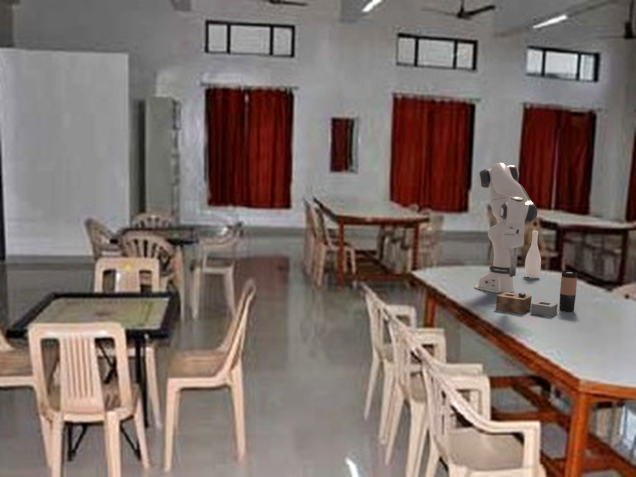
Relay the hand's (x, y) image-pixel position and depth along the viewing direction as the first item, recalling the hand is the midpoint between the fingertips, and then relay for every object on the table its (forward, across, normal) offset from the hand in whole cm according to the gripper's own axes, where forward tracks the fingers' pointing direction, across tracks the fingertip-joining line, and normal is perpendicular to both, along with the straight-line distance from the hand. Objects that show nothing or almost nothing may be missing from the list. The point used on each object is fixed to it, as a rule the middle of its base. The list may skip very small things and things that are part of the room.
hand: (513, 256), depth 359 cm
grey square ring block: (+27, -2, +17) cm, 32 cm away
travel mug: (+27, -17, +24) cm, 40 cm away
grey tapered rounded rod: (+10, 0, 0) cm, 10 cm away
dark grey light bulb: (+27, 0, +6) cm, 27 cm away
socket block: (+27, 0, +2) cm, 27 cm away
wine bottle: (+27, -98, -20) cm, 104 cm away
